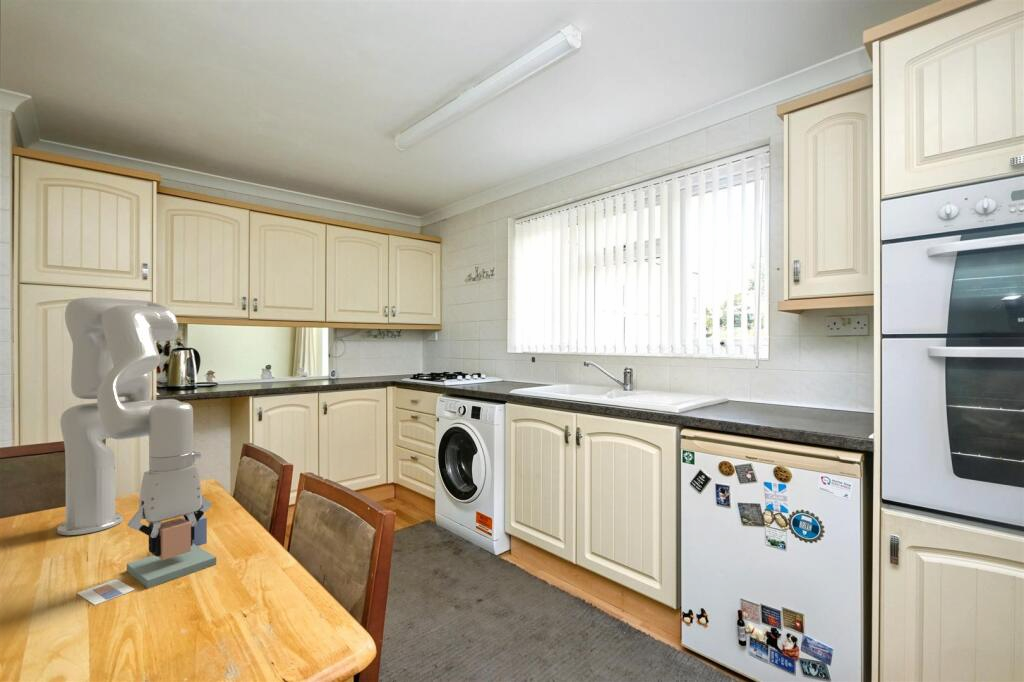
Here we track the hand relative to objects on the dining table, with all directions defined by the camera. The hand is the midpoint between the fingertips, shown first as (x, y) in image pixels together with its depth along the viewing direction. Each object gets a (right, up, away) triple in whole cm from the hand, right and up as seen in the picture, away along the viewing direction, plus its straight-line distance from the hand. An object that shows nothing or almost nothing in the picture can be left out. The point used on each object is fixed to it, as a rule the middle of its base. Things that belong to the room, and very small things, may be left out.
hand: (172, 548), depth 99 cm
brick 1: (0, -1, 0) cm, 1 cm away
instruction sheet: (-6, -4, -9) cm, 12 cm away
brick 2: (-4, -4, +12) cm, 13 cm away
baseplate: (0, -4, 0) cm, 4 cm away
